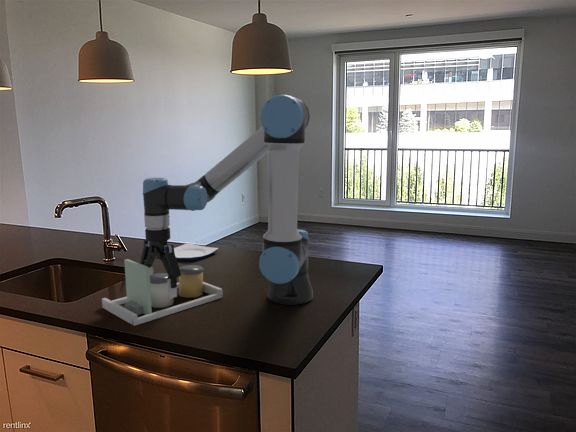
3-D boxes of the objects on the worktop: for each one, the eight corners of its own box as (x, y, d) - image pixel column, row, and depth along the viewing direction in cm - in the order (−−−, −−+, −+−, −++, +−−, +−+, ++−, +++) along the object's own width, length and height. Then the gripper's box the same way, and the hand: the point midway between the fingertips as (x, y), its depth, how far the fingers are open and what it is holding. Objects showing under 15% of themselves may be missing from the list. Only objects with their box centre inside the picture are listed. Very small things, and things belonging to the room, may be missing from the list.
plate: (191, 264, 199) (190, 258, 198) (155, 257, 209) (155, 252, 209) (222, 253, 216) (222, 247, 215) (188, 247, 226) (188, 242, 226)
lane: (222, 297, 160) (222, 288, 160) (134, 325, 138) (133, 315, 137) (188, 283, 174) (187, 275, 173) (102, 307, 151) (101, 298, 151)
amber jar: (207, 291, 166) (207, 266, 164) (196, 298, 158) (196, 272, 157) (185, 289, 168) (185, 264, 167) (174, 296, 160) (173, 269, 159)
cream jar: (157, 309, 150) (155, 282, 148) (144, 303, 155) (143, 276, 153) (178, 303, 155) (177, 276, 153) (165, 297, 160) (164, 271, 159)
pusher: (151, 314, 145) (149, 267, 143) (141, 318, 143) (138, 269, 140) (130, 304, 154) (127, 258, 151) (120, 307, 152) (117, 261, 149)
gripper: (190, 231, 144) (193, 298, 148) (147, 220, 161) (151, 280, 165) (168, 235, 139) (172, 305, 143) (126, 223, 156) (131, 286, 160)
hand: (161, 292), depth 154 cm, fingers open, 13 cm apart
